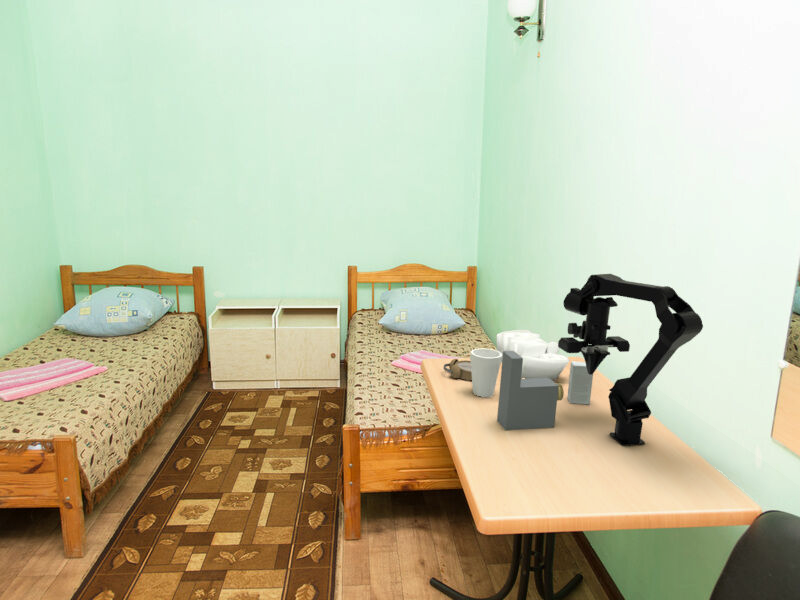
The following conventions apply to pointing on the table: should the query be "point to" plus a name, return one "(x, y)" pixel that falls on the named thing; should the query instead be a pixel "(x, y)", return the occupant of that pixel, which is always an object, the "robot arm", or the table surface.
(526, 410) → the block
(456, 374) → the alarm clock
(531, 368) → the wavy white extrusion
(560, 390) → the shaft
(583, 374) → the skincare box
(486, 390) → the foam cup
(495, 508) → the table surface
